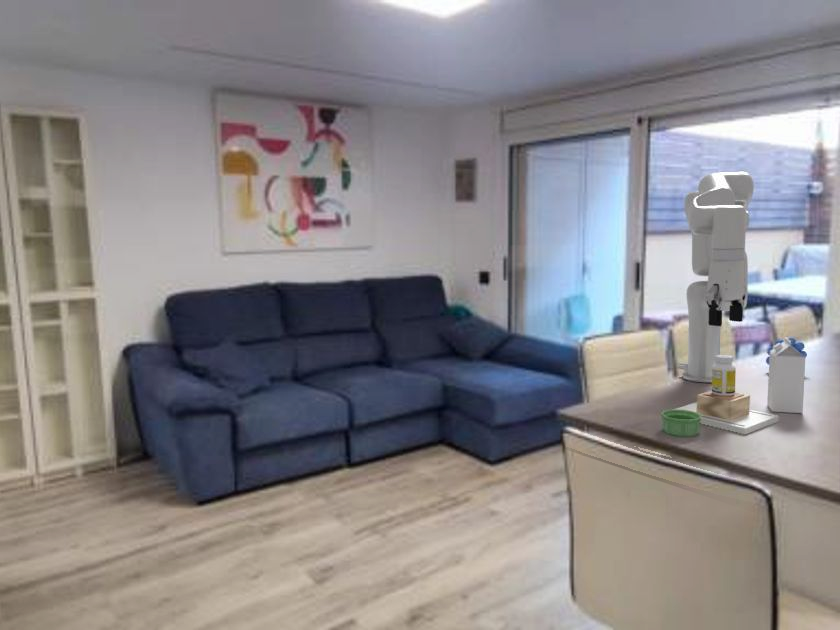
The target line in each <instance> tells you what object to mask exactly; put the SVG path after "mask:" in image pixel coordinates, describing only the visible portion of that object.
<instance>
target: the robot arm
mask: <svg viewBox="0 0 840 630" xmlns="http://www.w3.org/2000/svg"><path fill="white" fill-rule="evenodd" d="M754 185H755V184H754V179H753V178H752V176H751V175H750V174H749V173H747V172H745V171H739V172H738V171H737V172H717V173H710V174H707V175H705V176H704V177H703V178H702V179H701V180H700V181H699V183H698V185H697V190H695V191H691V192H690V193H687V195H686V196H685V198H684V212H685V216H686V220H687V222H688V227H689V230H690V232H691V267H692V272H693V274H694V275H696V276H698V277H707V280H699V281H693V282H692V283H690V284H689V285H688V286H687V289H686V303H687V310H688V338H687V339H688V342H687V343H688V344H687V345H688V346H687V362H681V361H679V362H678V364H677V369H678V370H683V371H684V372H683V373H682V375H681V376H682V378H683V379H684V380H687V381H691V382H697V383H707V384H708V383H709V384H710V383H711V384H712V366H713V365H714V364H716V360H715V357H716V355H721V346H722V345H721V343H722V341H721V340H722V325H723V312H729V313H728V314H729V316H728V320H729V321H730V322H737V323H741V322H743V319H744V318H743V317H744V316H743V315H744V312H743V310H744V309H745V308H746V307H747V304H748V291H749V290H748V287H749V285H748V284H749V283H748V282H749V280H748V279H749V278H748V275H749V274H748V273H749V270H748V269H749V266H748V264H749V263H748V262H749V261H748V256H747V251H746V236H747V235H746V234H747V233H746V232H747V231H746V229H748V227H749V224H750V212H749V211H747V209H748V207H749V205H750V202H751V200H752V198H753V195H754V192H755V191H754V189H755V188H754V187H755V186H754Z"/></svg>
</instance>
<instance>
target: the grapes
mask: <svg viewBox="0 0 840 630" xmlns="http://www.w3.org/2000/svg"><path fill="white" fill-rule="evenodd" d="M787 339H789V340H790V341H791V346H792V347H793V348H795V349H796V350H797V351H798V352H800V353H801V354H802V355H803V356H805V359H806V358H807V356H808V354H807V352H806V350H804V348H805V343H803V342H800V341H798V342H797V340H796V339H795V338H794V337H787ZM784 341H785V339H778V340H776V341H775V342H774V346H775V345H776V344H778V343H782V342H784ZM774 346H770V347H769V348H768V349H767V350H766V354H767V355H768V357H766V358H765V363H766V364H767V365H768V366H769V356H770V351H771V350H772V349H774V348H773V347H774Z"/></svg>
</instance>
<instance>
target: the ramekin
mask: <svg viewBox="0 0 840 630" xmlns="http://www.w3.org/2000/svg"><path fill="white" fill-rule="evenodd" d="M660 416H661V418H662V430H663V431H664V432H665V433H666V434H668V435H671V436H675V435H676V436H675V437H683V436H689V437H693V436H694V435H695V436H696V435H698V434H699V432H700V427H701V426H700V425H701V424H700V420H701V418H702V416H701V415H700V414H698V413H696V412H693V411H688V410H678V409H676V408H674V409H673V408H672V409H667V410H663V411H661V415H660ZM695 436H694V437H695Z"/></svg>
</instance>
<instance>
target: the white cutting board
mask: <svg viewBox="0 0 840 630" xmlns="http://www.w3.org/2000/svg"><path fill="white" fill-rule="evenodd" d="M675 409H678V410H688V411H693V412H696V409H697V401H696V402H692V403H689V404H687V405H683V406H681V407H677V408H675ZM698 414H700V413H698ZM700 415H701V416H702V418H701V420H700V423H701V424H700V425H703V424H705V425H704V426H707V425H709V426H708V427H711V426H713V428H716V427H717V428H716V429H720V428H721V430H724V429H725V430H724V431H728V430H730V431H729V432H732V431H733V432H734V433H736V432H737V433H736V434H741V435H745V434H746V435H748V434H750V432H751V433H753V432H755V430H756V431H757V430H760V429H763V428H765V427H768V426H771V425H773V424H775V423H778V422H779V415H776V414H772V413H767V412H763V411H757V410H752V409H749V414H747V415H744V416H741V417H739V418H736V419H733V420H726V419H722V418H717V417H713V416H709V415H704V414H700ZM733 432H732V433H733Z"/></svg>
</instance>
